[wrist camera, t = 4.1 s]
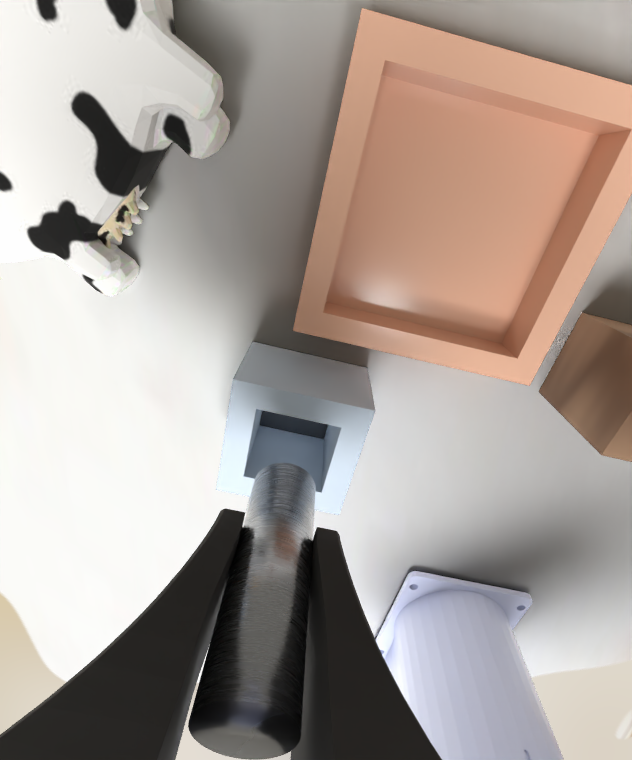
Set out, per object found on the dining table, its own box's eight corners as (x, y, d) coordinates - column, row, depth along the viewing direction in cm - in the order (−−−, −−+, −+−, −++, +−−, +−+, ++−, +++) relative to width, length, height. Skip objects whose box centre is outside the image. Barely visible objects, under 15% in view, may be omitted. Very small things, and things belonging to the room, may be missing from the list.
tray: (508, 364, 18) (529, 385, 16) (297, 314, 18) (292, 330, 16) (632, 111, 14) (681, 99, 12) (357, 34, 13) (361, 7, 11)
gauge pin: (308, 516, 15) (288, 766, 8) (248, 504, 14) (183, 749, 8) (322, 470, 14) (312, 712, 7) (259, 456, 13) (193, 691, 7)
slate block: (338, 459, 21) (339, 515, 18) (236, 437, 21) (216, 490, 17) (367, 367, 19) (375, 410, 15) (252, 341, 18) (232, 379, 15)
